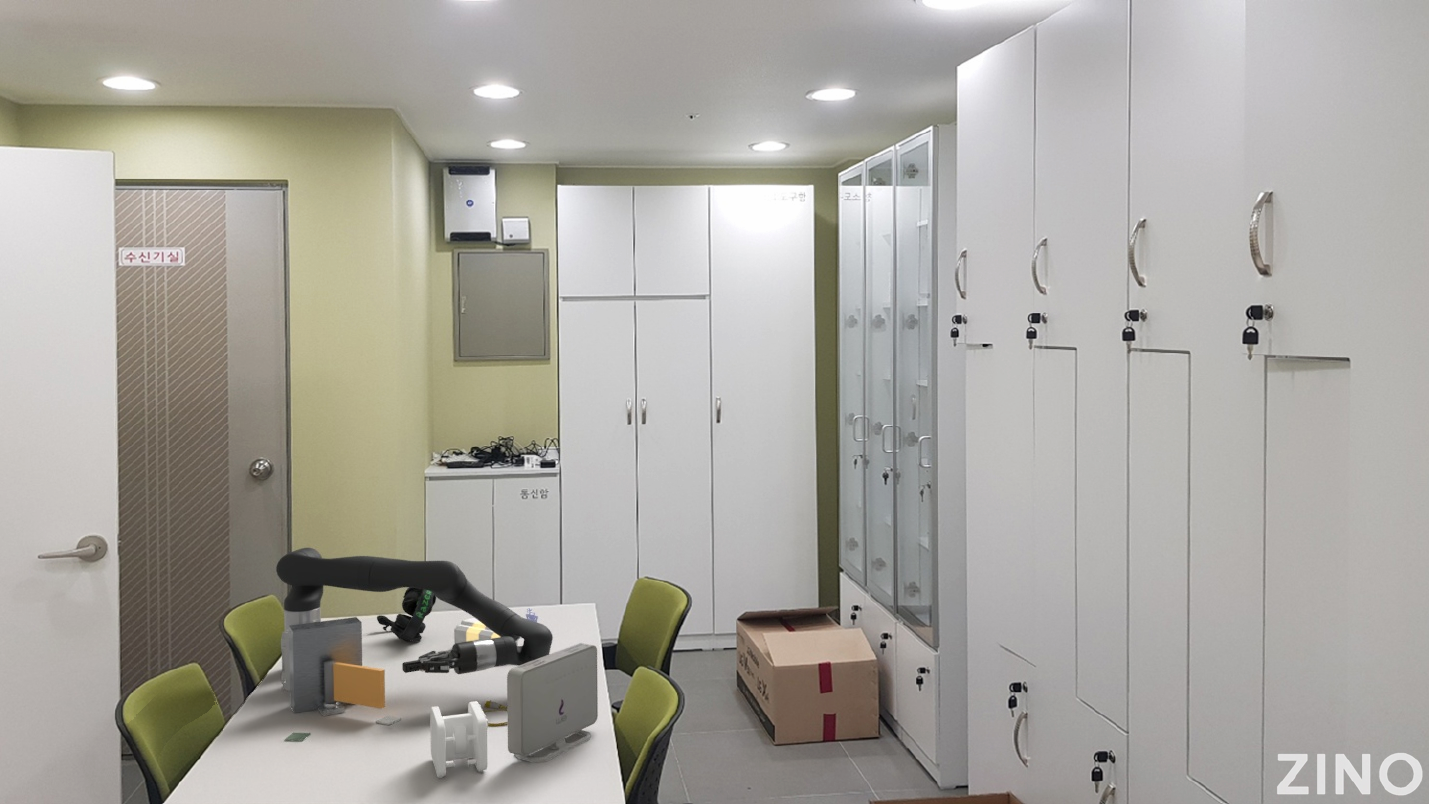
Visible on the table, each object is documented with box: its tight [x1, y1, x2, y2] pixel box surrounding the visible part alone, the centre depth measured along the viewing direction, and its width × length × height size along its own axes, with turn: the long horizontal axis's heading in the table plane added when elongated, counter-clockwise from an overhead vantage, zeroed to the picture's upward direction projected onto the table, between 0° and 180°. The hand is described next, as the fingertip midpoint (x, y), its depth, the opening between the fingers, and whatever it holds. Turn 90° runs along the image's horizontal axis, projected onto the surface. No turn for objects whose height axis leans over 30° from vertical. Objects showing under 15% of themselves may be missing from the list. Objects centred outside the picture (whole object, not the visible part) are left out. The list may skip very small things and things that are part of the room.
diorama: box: [453, 608, 539, 646], centre depth 302 cm, size 25×10×13 cm, turn 57°
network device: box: [506, 642, 599, 763], centre depth 228 cm, size 26×9×20 cm, turn 148°
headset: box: [376, 587, 437, 643], centre depth 314 cm, size 18×14×29 cm
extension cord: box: [483, 699, 508, 727], centre depth 248 cm, size 12×16×2 cm
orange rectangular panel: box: [324, 660, 386, 710], centre depth 248 cm, size 18×3×10 cm, turn 66°
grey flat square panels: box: [284, 616, 402, 742], centre depth 247 cm, size 26×26×20 cm
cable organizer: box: [429, 700, 489, 779], centre depth 217 cm, size 15×11×12 cm
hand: (403, 667), depth 247 cm, fingers closed
